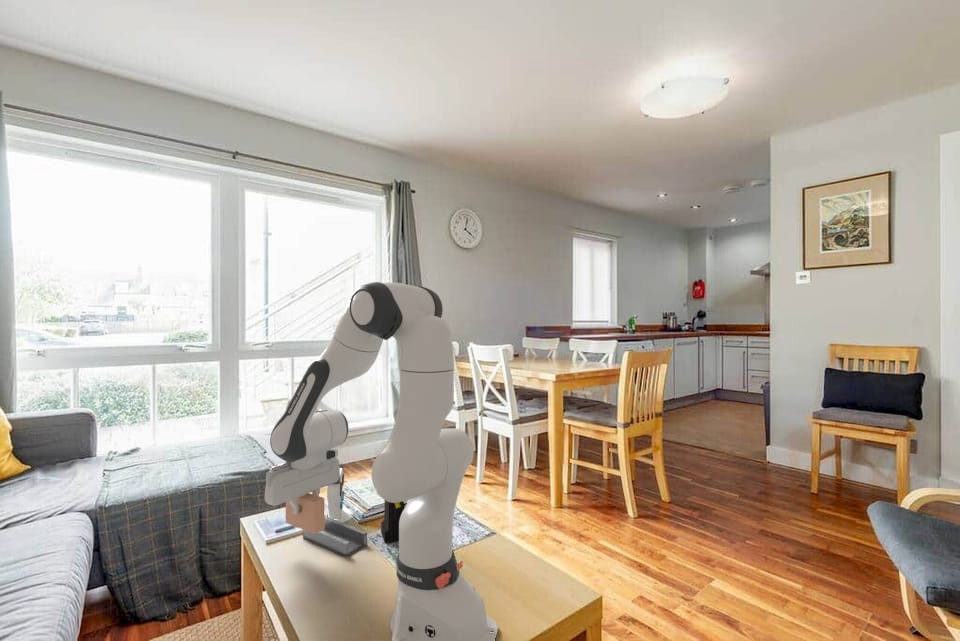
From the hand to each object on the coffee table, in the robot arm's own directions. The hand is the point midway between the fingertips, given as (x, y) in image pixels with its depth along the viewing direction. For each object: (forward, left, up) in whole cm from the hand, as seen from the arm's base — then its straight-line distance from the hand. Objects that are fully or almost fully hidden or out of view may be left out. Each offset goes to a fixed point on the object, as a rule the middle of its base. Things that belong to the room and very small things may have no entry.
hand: (304, 510), depth 116 cm
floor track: (+1, -10, -13) cm, 16 cm away
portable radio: (-11, -21, -13) cm, 27 cm away
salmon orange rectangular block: (0, 0, -4) cm, 4 cm away
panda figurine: (+13, -20, -13) cm, 27 cm away
